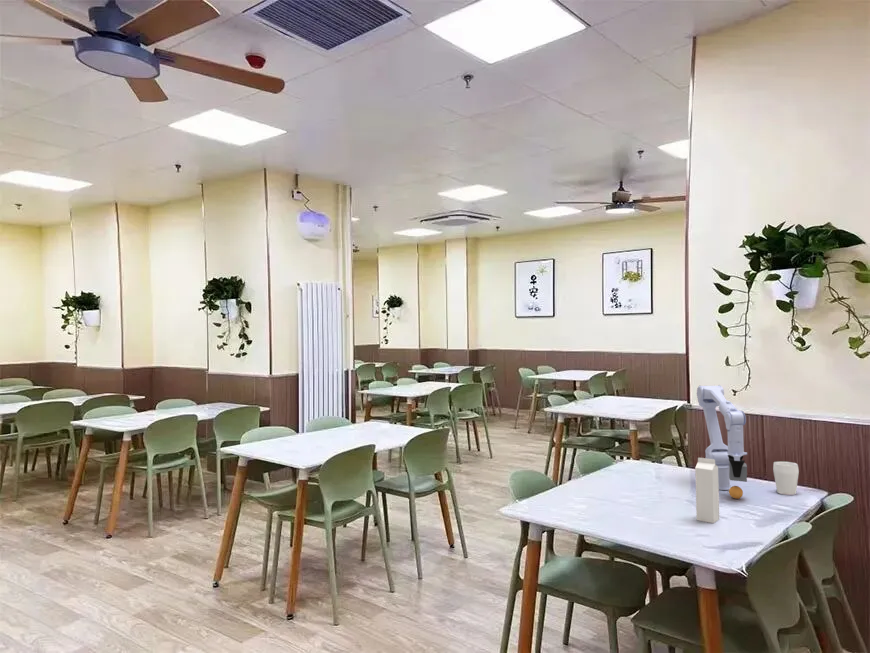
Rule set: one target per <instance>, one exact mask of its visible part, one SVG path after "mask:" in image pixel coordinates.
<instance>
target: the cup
mask: <svg viewBox="0 0 870 653" xmlns="http://www.w3.org/2000/svg"><path fill="white" fill-rule="evenodd" d="M772 468H773V470H772V471H773V476H774V481H775V487H776V491H777V494H781V495H785V496H794V495H796V494H797V489H798V488H797V487H798V481H799V480H798V479H799V474H800V473H799V472H800V471H799V464H798V463H797V462H792V461H784V460H783V461H774V462H773V467H772Z"/></svg>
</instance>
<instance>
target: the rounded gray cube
mask: <svg viewBox="0 0 870 653" xmlns="http://www.w3.org/2000/svg"><path fill="white" fill-rule="evenodd" d="M729 481H734V482H744V483H746V482H748V466H747V463H745V462H744V464H743V466H742V470H741V475H740V477H734V475H733V470H732V466H731V463H730V462H729Z"/></svg>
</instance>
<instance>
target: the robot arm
mask: <svg viewBox="0 0 870 653" xmlns="http://www.w3.org/2000/svg"><path fill="white" fill-rule="evenodd" d="M696 398H697V402H698V405H699V407H702V409H703V414H704V418H705V423H706V428H707V434H708V438H709V442H710V445H709V446H707V447H706V448H705V450H704V452H705V458H707V459H714V460H715V464H716V465H717V466H718V483H719V491H729V489H730V488H731V487H732V486H731V485H730V482H731V480H730V478H729V462H730V463H731V466H732V470H733V475H734V477H740V475H741V470H742V466H743V464H744V463H745V461H746V460H744V459H743V458H744V456H748V452H745V448H744V444H745V443H744V426H745V425H746V422H747V416H746V414H745V412H744V411H743V410H738V408H737V407H736V406H735V405H734V404H733V402H731V401H730V400H727V399H726V397H725V389H724V387H723V386H722V385H720V384H718V385H699V386H698V387H697V389H696ZM717 407H718V410H719V412H720V413H721V415H722V416H723V418H724V419H723V420H724V423H725V429H726V430H727V444H725V443H724V441H723V437H722V433H721V432H722V431H721V428H720V424H719V423H720V422H719V418H718V415H717Z"/></svg>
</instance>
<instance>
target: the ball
mask: <svg viewBox="0 0 870 653" xmlns="http://www.w3.org/2000/svg"><path fill="white" fill-rule="evenodd" d="M728 493H729V495H730V497H731V498H733V499H741V498H742V497H743V495H744V491H743V489H742V488H741V487H740V486H738V485H733V486H731V488H730V489H729V490H728Z"/></svg>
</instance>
